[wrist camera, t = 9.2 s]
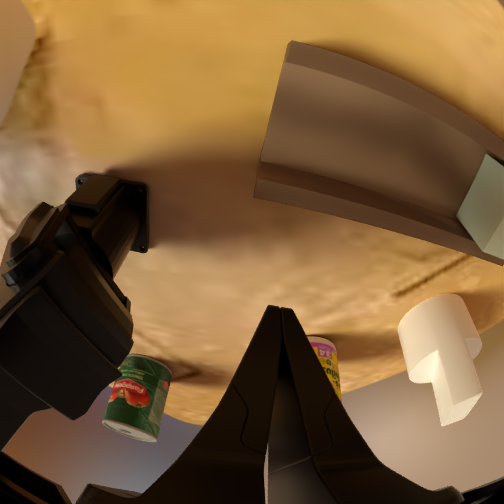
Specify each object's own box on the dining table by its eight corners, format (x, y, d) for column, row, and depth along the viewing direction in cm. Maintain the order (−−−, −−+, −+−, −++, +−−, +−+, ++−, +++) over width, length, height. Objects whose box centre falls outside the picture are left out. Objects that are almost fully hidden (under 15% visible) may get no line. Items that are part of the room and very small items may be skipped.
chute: (485, 242, 21) (502, 266, 18) (256, 172, 19) (253, 197, 16) (526, 163, 15) (550, 182, 12) (288, 43, 13) (291, 40, 11)
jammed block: (488, 230, 19) (513, 263, 15) (455, 215, 18) (482, 251, 15) (516, 175, 15) (548, 204, 12) (486, 153, 15) (521, 181, 11)
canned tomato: (141, 349, 35) (119, 422, 27) (183, 375, 39) (169, 443, 30) (114, 358, 39) (93, 420, 30) (152, 382, 42) (137, 441, 34)
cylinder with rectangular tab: (459, 327, 29) (486, 408, 20) (398, 349, 32) (416, 435, 23) (467, 282, 24) (510, 378, 15) (394, 309, 27) (421, 416, 18)
